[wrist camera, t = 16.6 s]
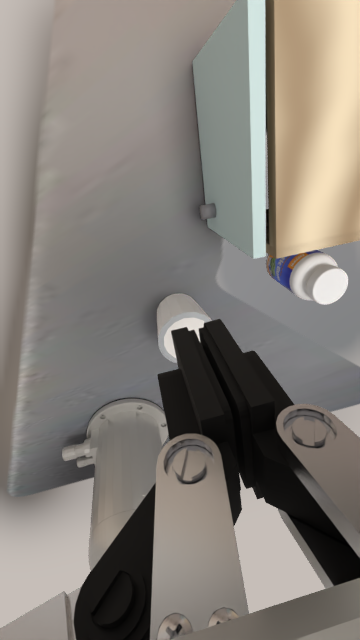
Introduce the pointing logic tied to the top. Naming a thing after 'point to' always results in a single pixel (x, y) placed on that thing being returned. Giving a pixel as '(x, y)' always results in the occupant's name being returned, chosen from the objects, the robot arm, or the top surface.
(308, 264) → the pill bottle
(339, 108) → the cabinet
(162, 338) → the white cup
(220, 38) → the door
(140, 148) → the top surface
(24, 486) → the top surface
